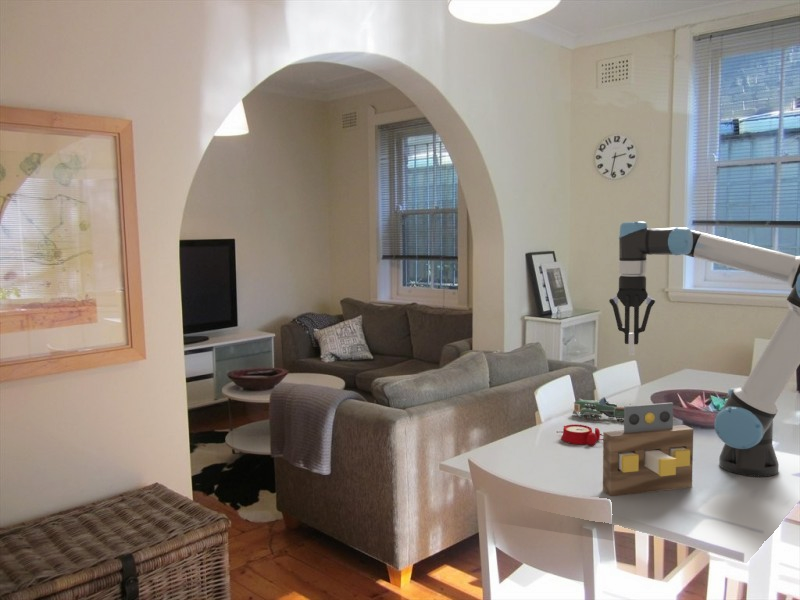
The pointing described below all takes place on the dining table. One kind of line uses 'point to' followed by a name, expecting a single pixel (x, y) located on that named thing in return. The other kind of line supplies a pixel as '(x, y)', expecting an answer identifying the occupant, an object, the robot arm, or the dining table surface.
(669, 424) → the card
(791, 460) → the dining table surface
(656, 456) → the button mid
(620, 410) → the hoverbike
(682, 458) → the button
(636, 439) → the panel
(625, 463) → the button
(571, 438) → the alarm clock
